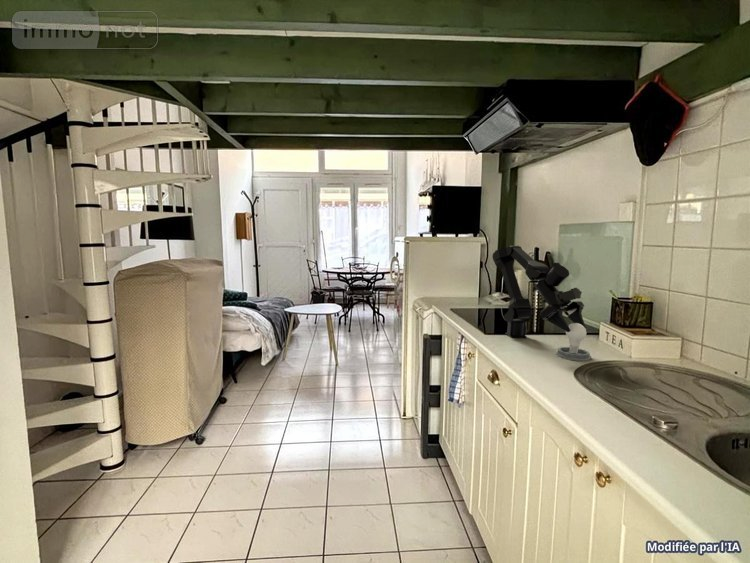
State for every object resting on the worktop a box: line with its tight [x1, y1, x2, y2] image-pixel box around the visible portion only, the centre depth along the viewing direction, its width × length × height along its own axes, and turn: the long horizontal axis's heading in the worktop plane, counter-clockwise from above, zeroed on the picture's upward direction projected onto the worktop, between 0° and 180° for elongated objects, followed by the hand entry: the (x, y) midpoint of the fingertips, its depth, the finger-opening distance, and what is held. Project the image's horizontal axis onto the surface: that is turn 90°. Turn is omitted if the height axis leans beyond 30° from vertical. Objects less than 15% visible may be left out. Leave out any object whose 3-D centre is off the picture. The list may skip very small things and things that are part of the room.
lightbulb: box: [565, 322, 587, 354], centre depth 138 cm, size 6×6×11 cm
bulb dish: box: [555, 346, 592, 362], centre depth 138 cm, size 11×11×2 cm
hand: (577, 330), depth 137 cm, fingers open, 9 cm apart
